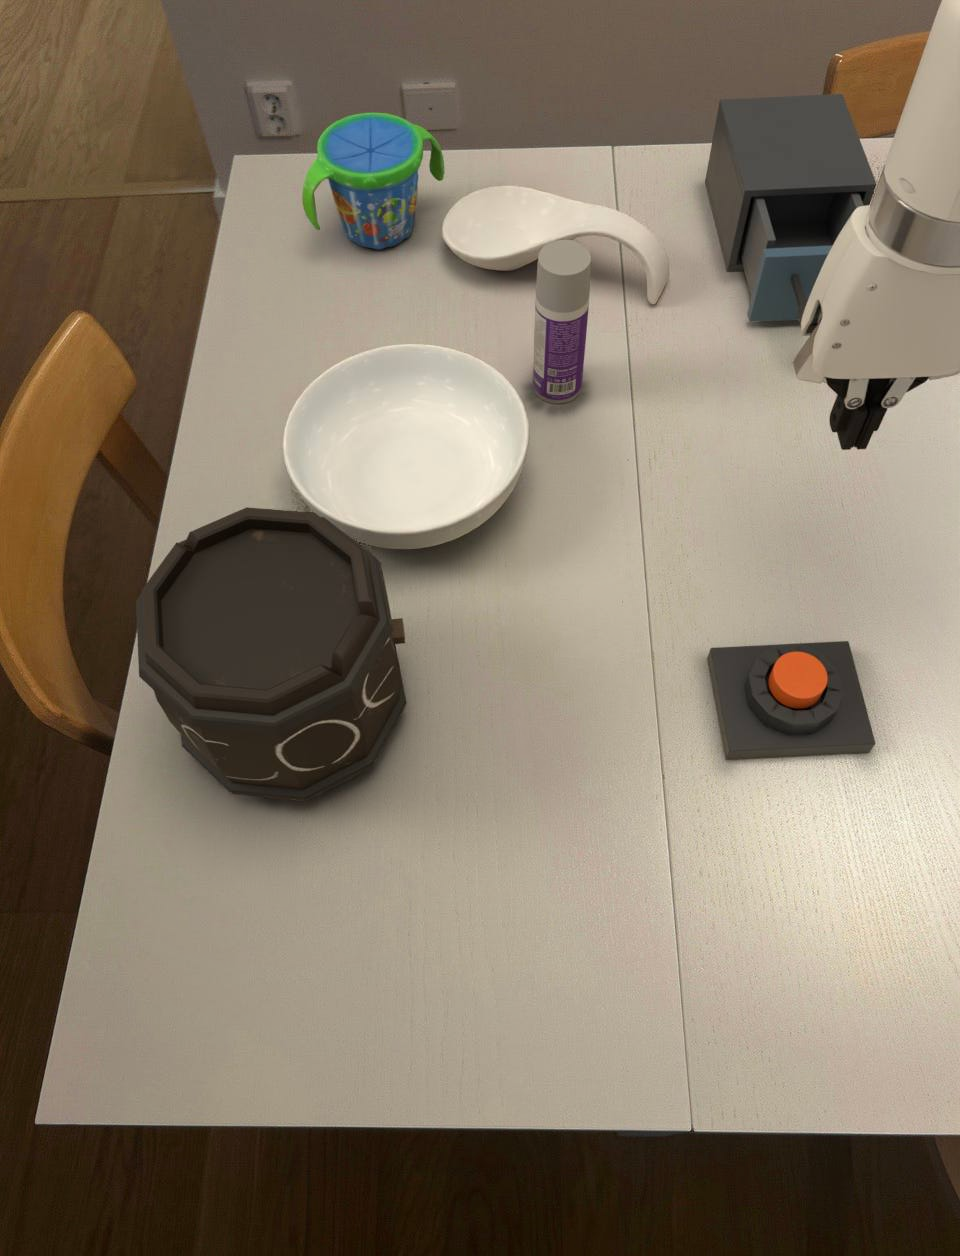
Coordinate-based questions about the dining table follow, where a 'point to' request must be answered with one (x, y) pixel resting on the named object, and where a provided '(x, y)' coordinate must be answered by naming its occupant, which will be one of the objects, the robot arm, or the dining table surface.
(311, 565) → the dark grey faceted cylinder
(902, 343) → the robot arm
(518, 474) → the serving bowl
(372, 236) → the snack cup
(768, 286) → the blue cabinet drawer
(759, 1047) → the dining table surface
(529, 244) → the spoon rest
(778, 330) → the dining table surface
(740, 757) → the dark grey button base
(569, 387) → the container
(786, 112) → the grey cabinet body
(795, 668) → the button
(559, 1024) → the dining table surface
